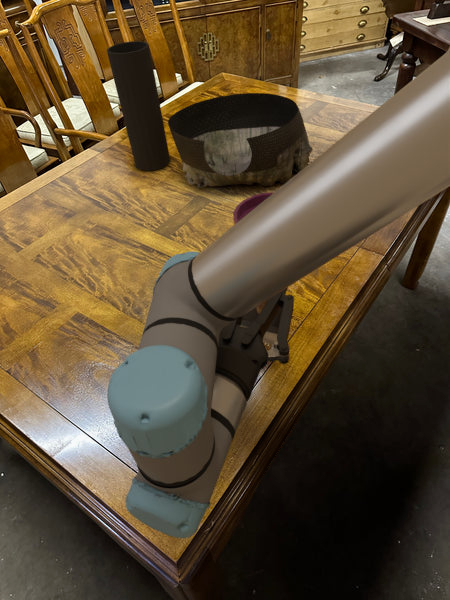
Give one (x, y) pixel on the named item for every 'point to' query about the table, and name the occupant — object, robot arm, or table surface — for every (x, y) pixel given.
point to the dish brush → (273, 328)
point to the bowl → (248, 206)
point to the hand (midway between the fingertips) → (275, 263)
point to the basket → (241, 140)
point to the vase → (139, 103)
